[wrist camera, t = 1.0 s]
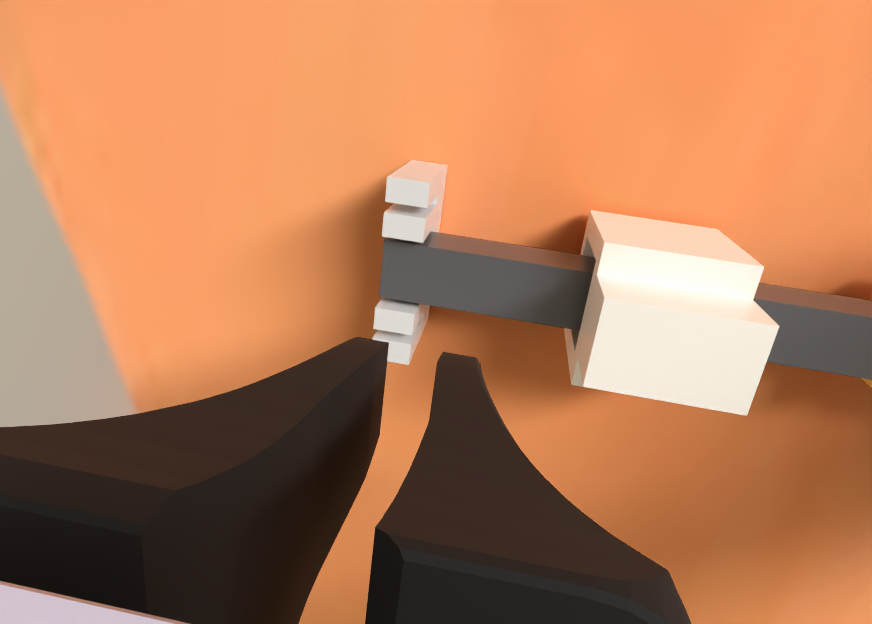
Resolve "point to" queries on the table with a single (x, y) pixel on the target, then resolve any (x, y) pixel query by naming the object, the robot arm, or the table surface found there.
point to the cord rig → (561, 286)
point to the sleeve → (670, 315)
